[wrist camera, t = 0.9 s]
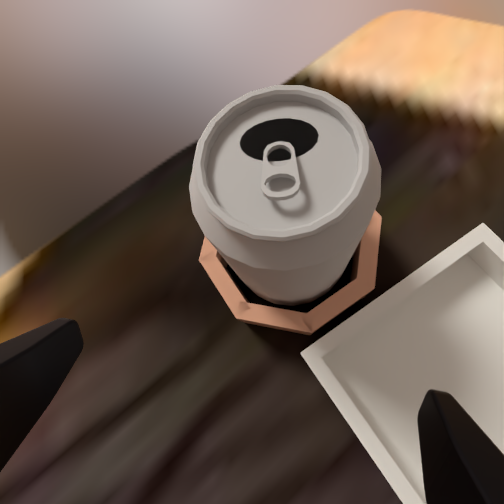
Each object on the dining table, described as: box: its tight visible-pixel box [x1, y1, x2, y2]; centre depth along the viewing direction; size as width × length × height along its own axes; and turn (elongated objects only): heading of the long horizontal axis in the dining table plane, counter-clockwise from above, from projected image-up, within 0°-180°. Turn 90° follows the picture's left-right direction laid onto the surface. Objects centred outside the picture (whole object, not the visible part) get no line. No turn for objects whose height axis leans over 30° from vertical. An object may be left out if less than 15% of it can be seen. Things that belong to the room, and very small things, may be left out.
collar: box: [199, 210, 382, 335], centre depth 21 cm, size 10×10×3 cm
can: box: [189, 85, 381, 306], centre depth 17 cm, size 8×8×12 cm
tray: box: [300, 223, 504, 504], centre depth 17 cm, size 13×13×3 cm
